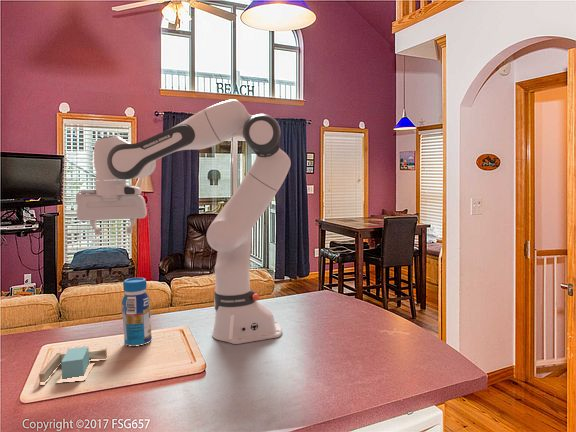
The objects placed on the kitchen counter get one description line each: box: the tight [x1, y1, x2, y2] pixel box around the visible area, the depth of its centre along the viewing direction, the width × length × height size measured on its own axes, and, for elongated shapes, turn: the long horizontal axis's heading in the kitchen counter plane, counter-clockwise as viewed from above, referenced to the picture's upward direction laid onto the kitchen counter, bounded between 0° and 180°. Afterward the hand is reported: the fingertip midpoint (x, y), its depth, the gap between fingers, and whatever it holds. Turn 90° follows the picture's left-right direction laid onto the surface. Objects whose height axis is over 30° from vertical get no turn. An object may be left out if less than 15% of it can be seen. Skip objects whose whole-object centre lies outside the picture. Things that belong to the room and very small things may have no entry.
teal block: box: [60, 346, 90, 379], centre depth 117 cm, size 9×5×5 cm, turn 16°
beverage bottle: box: [121, 277, 153, 346], centre depth 137 cm, size 8×8×20 cm
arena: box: [38, 348, 108, 383], centre depth 118 cm, size 13×14×3 cm
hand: (113, 233), depth 138 cm, fingers open, 8 cm apart
